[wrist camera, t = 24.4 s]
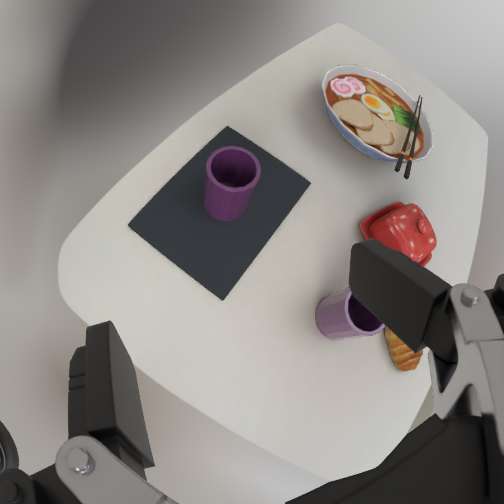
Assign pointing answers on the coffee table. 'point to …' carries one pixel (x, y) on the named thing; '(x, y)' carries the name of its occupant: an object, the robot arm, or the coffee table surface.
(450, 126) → the coffee table surface
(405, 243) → the butter dish
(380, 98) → the ramen bowl
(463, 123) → the coffee table surface
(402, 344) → the pastry
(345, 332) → the plum cup side
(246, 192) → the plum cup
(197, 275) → the mat
